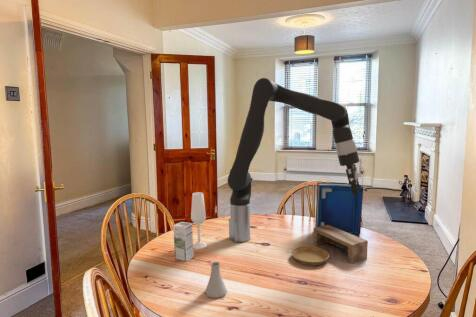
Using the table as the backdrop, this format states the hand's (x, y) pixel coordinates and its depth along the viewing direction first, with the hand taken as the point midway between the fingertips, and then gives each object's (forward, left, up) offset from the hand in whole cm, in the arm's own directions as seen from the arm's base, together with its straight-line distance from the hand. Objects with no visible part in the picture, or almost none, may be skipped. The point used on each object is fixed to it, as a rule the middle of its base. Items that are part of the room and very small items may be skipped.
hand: (356, 191), depth 123 cm
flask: (-60, +3, -27) cm, 66 cm away
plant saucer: (-17, +7, -27) cm, 33 cm away
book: (+14, +22, -27) cm, 38 cm away
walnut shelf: (-2, +7, -27) cm, 28 cm away
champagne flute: (-51, +42, -27) cm, 72 cm away
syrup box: (-61, +33, -27) cm, 75 cm away
